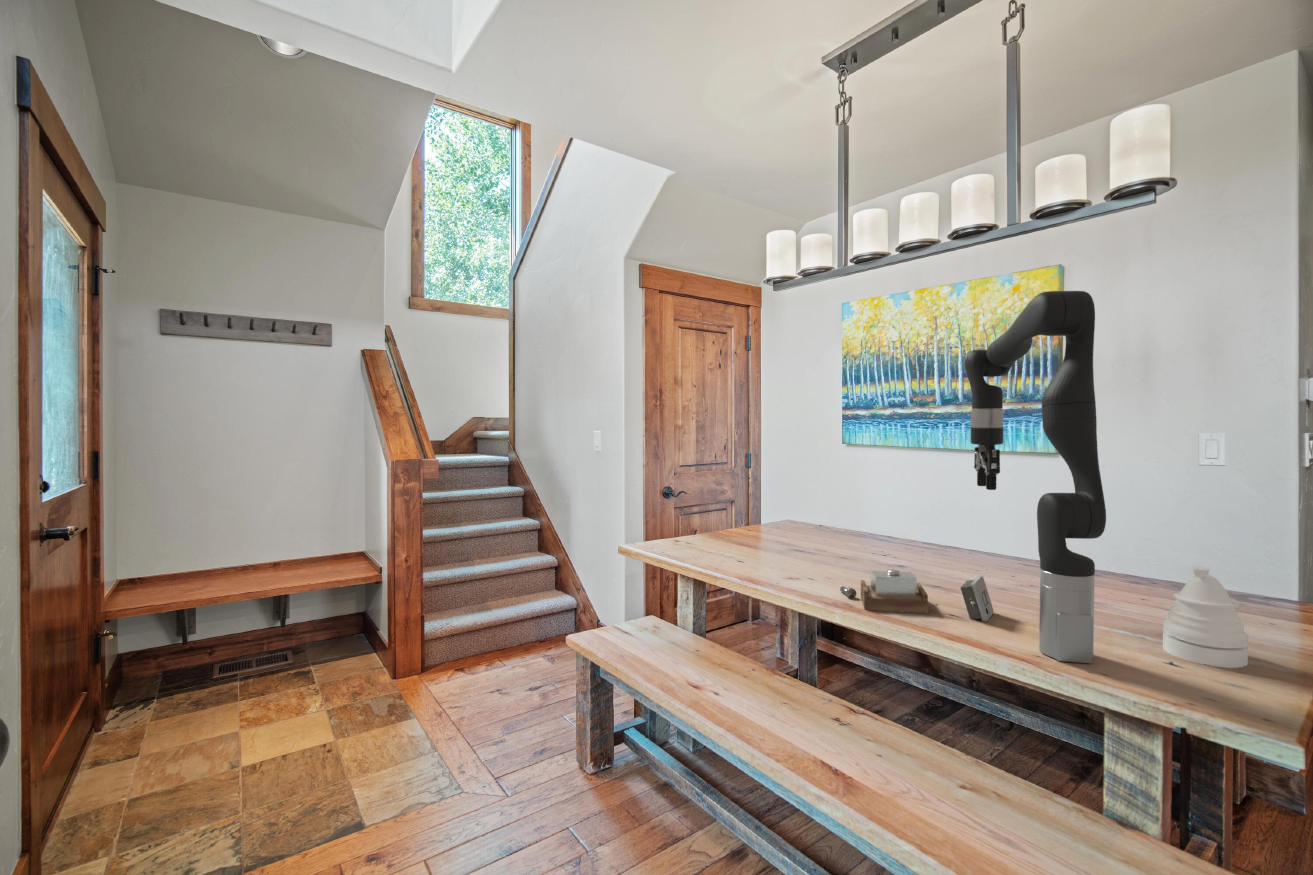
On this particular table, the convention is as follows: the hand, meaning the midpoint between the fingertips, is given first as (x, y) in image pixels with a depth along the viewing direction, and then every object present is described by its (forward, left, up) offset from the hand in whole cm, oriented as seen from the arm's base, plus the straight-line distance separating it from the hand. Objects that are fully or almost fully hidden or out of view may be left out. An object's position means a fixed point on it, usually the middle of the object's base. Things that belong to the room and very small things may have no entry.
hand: (986, 487), depth 158 cm
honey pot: (-29, -33, -30) cm, 53 cm away
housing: (-8, +24, -27) cm, 37 cm away
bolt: (-2, +35, -30) cm, 46 cm away
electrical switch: (-13, +5, -30) cm, 33 cm away
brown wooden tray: (-8, +24, -30) cm, 39 cm away
